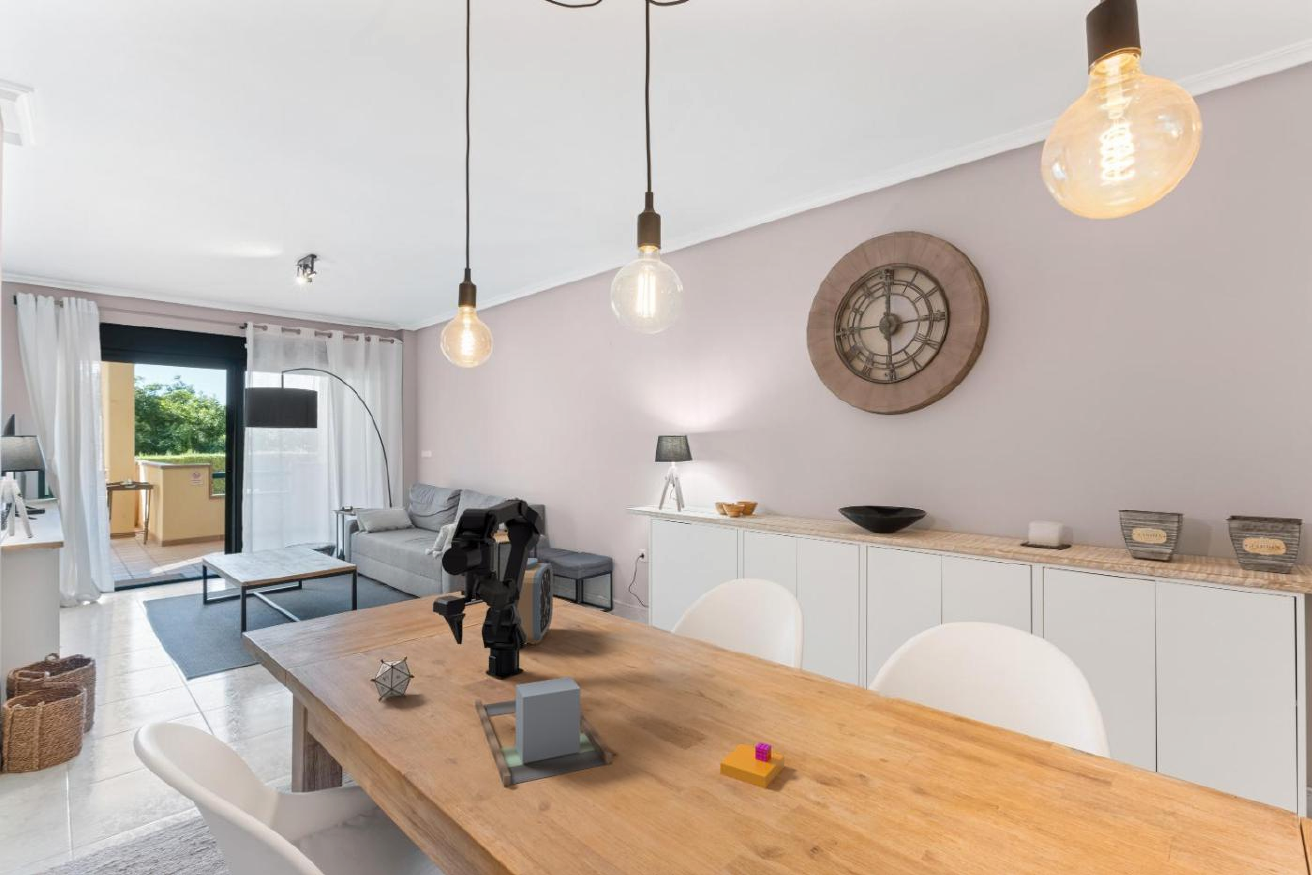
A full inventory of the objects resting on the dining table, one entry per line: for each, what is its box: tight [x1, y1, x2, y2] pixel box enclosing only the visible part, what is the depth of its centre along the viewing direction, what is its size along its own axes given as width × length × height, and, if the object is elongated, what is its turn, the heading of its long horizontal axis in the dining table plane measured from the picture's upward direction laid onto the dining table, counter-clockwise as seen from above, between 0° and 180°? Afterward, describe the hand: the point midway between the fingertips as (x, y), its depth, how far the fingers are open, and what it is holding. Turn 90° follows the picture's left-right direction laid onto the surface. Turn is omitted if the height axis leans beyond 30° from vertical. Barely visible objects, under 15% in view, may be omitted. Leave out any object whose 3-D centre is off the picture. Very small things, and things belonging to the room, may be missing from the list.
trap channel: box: [474, 697, 613, 787], centre depth 115 cm, size 33×18×2 cm, turn 24°
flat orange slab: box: [719, 741, 785, 789], centre depth 102 cm, size 8×8×4 cm
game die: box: [369, 656, 416, 702], centre depth 131 cm, size 9×8×10 cm
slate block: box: [515, 676, 581, 763], centre depth 108 cm, size 6×10×11 cm, turn 114°
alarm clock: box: [517, 557, 554, 644], centre depth 174 cm, size 21×10×22 cm, turn 179°
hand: (477, 638), depth 133 cm, fingers open, 9 cm apart
